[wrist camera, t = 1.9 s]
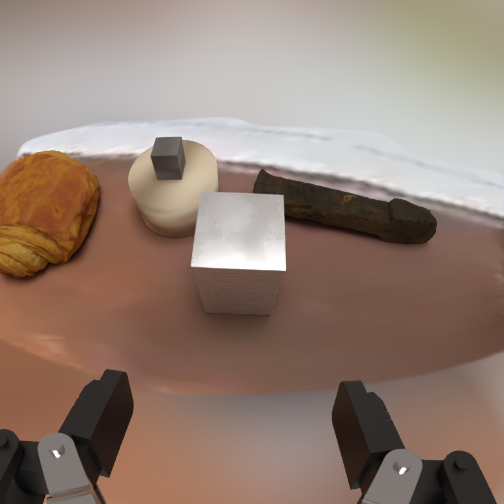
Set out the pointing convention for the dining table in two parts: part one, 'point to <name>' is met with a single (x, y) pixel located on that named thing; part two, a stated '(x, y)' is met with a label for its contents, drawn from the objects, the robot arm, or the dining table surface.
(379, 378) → the dining table surface
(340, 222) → the hand tool
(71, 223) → the croissant
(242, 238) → the light grey block
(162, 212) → the cream rounded block
